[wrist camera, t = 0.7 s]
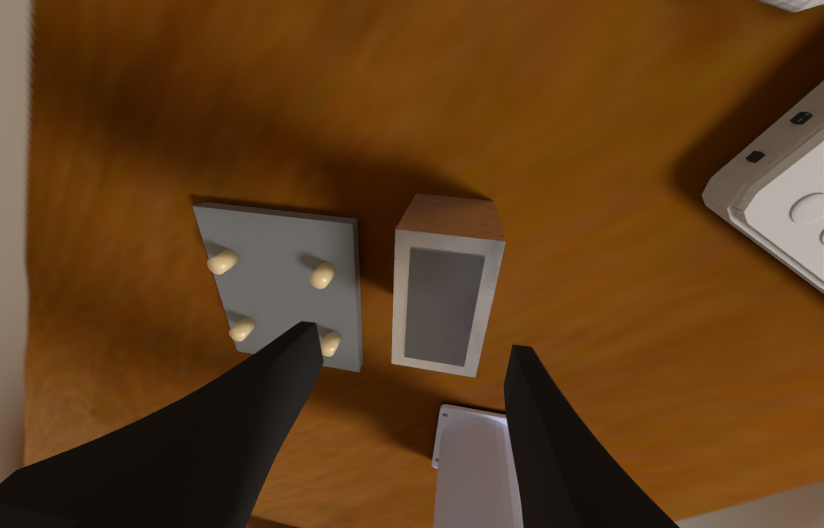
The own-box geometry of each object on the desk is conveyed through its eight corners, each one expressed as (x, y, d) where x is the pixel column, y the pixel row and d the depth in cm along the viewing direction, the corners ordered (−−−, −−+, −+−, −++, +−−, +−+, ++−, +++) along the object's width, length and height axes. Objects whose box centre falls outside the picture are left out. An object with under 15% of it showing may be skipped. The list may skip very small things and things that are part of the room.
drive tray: (363, 363, 25) (353, 387, 23) (244, 343, 27) (225, 364, 24) (357, 218, 19) (343, 233, 17) (203, 201, 20) (172, 213, 18)
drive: (473, 310, 21) (475, 379, 16) (409, 301, 22) (390, 365, 16) (494, 200, 17) (506, 243, 12) (416, 192, 18) (394, 230, 13)
